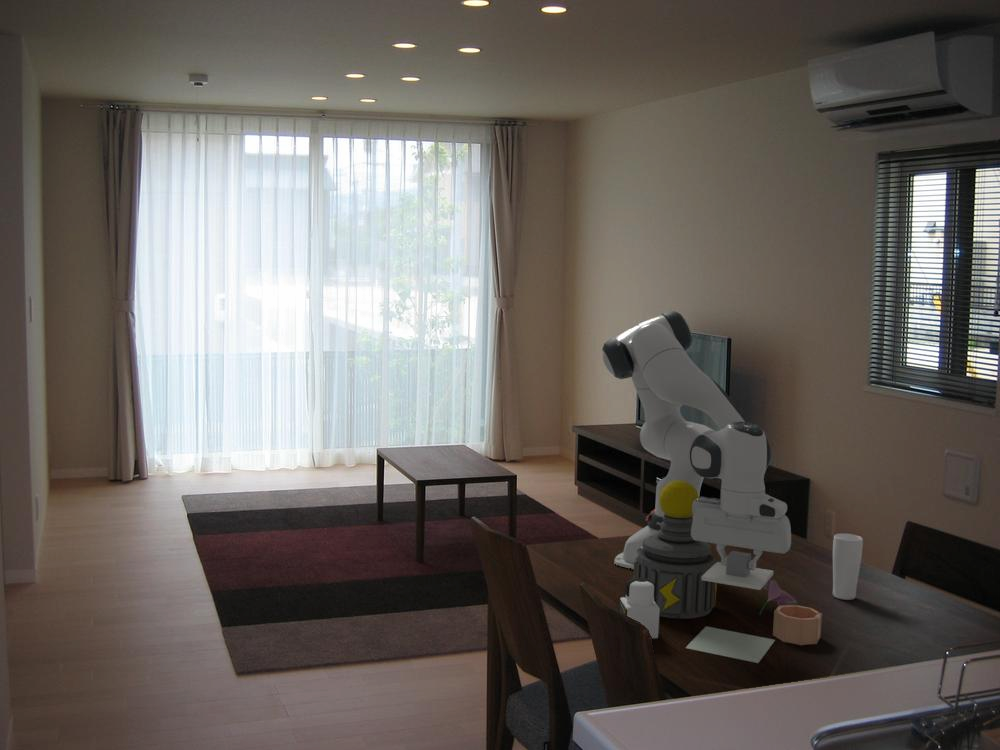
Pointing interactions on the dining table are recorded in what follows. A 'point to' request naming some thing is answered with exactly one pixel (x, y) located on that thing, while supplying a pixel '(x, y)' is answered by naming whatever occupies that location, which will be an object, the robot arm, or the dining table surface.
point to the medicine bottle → (641, 604)
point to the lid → (738, 572)
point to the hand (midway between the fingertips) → (738, 567)
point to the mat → (731, 644)
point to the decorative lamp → (677, 558)
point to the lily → (777, 594)
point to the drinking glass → (846, 565)
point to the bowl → (797, 624)
